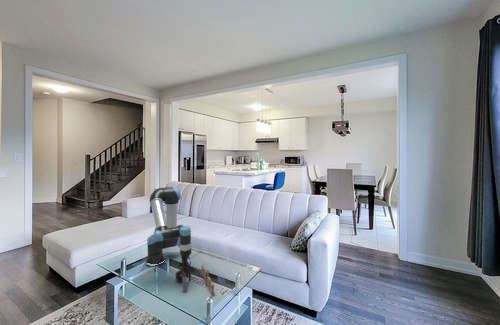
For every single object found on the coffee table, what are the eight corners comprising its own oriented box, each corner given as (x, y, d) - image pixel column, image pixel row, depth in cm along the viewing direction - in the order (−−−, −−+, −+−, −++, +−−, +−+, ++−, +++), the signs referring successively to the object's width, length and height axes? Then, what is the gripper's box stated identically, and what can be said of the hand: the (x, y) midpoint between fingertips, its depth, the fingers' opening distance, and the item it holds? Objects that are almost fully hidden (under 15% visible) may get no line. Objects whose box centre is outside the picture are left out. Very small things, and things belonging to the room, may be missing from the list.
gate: (207, 283, 161) (207, 273, 161) (206, 284, 160) (205, 274, 160) (203, 275, 172) (203, 265, 172) (201, 275, 172) (201, 266, 171)
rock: (175, 281, 166) (181, 287, 159) (172, 270, 165) (178, 275, 158) (189, 273, 174) (195, 278, 167) (187, 262, 173) (193, 267, 165)
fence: (207, 286, 158) (206, 276, 157) (209, 285, 158) (208, 275, 158) (212, 296, 147) (211, 285, 147) (214, 295, 148) (213, 284, 147)
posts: (182, 290, 153) (181, 275, 153) (208, 283, 161) (208, 268, 161) (182, 293, 151) (182, 277, 150) (209, 285, 158) (209, 270, 158)
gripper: (194, 250, 156) (195, 283, 157) (187, 244, 166) (188, 275, 167) (183, 253, 151) (184, 287, 152) (177, 247, 162) (178, 279, 163)
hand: (186, 281), depth 160 cm, fingers closed
